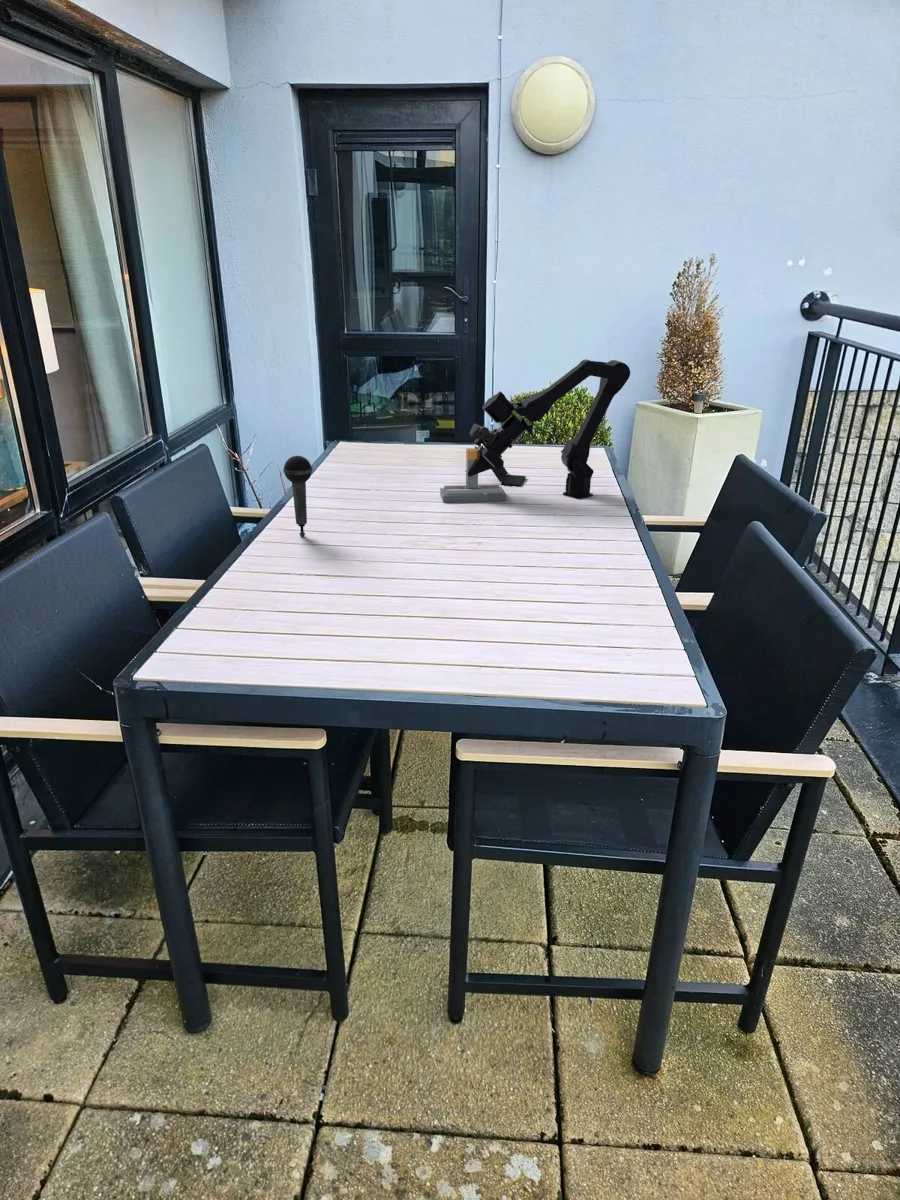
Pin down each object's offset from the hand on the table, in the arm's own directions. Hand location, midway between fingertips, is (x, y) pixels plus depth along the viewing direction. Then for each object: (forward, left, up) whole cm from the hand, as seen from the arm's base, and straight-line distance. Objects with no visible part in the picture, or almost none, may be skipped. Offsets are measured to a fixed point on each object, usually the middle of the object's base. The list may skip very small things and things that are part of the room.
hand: (467, 474), depth 223 cm
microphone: (+1, +54, -7) cm, 55 cm away
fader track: (-1, -1, -7) cm, 7 cm away
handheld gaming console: (+5, -23, -8) cm, 25 cm away
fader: (-1, -1, -5) cm, 5 cm away
